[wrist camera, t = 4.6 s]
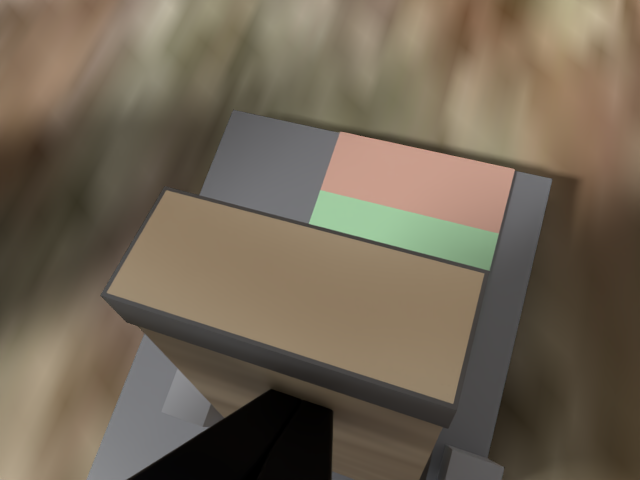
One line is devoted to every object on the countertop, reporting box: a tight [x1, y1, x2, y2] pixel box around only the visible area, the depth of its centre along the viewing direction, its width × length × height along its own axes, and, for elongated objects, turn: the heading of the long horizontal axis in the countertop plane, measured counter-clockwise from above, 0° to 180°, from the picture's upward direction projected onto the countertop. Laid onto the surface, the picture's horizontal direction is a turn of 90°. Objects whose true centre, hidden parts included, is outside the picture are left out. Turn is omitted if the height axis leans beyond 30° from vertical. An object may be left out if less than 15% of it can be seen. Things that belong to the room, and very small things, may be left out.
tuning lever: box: [100, 186, 490, 480], centre depth 10 cm, size 2×4×9 cm, turn 72°
